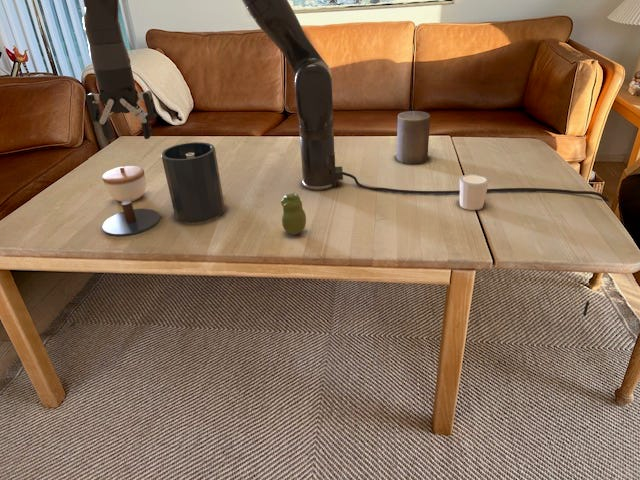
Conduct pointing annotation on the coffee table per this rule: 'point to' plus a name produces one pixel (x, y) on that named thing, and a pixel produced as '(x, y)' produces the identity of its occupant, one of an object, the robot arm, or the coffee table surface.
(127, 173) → the trinket box
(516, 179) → the coffee table surface
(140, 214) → the lid
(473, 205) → the white cylinder
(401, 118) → the pillar candle
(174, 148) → the canister
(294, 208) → the green figurine
